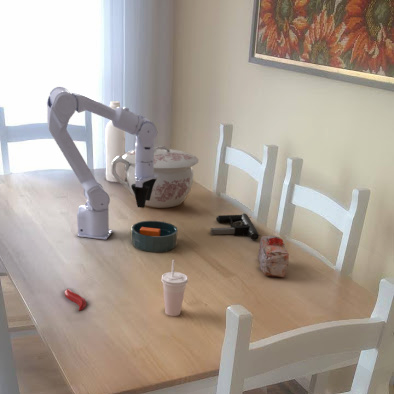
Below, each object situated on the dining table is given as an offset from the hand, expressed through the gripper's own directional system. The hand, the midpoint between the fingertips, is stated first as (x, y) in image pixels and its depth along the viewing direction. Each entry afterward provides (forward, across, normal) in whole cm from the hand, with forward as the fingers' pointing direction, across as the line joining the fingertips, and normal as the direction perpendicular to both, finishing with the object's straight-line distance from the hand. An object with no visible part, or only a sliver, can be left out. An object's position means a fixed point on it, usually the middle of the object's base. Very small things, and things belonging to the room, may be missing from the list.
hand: (143, 203), depth 184 cm
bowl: (+9, -9, -6) cm, 14 cm away
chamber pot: (+10, +32, +2) cm, 33 cm away
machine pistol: (+10, +11, -29) cm, 32 cm away
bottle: (+10, +54, +25) cm, 61 cm away
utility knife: (+9, -9, -6) cm, 14 cm away
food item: (+10, -18, -43) cm, 47 cm away
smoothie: (+10, -52, -20) cm, 57 cm away
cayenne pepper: (+10, -53, +5) cm, 54 cm away
